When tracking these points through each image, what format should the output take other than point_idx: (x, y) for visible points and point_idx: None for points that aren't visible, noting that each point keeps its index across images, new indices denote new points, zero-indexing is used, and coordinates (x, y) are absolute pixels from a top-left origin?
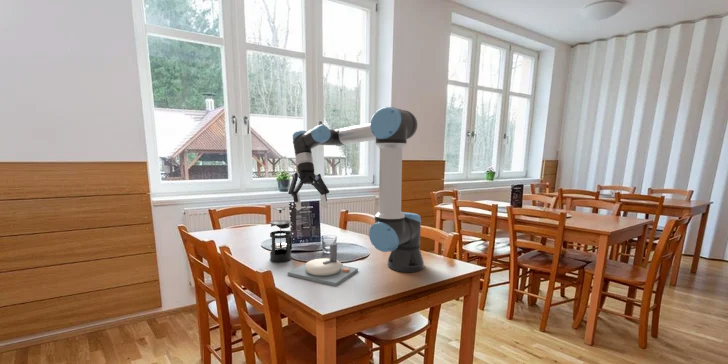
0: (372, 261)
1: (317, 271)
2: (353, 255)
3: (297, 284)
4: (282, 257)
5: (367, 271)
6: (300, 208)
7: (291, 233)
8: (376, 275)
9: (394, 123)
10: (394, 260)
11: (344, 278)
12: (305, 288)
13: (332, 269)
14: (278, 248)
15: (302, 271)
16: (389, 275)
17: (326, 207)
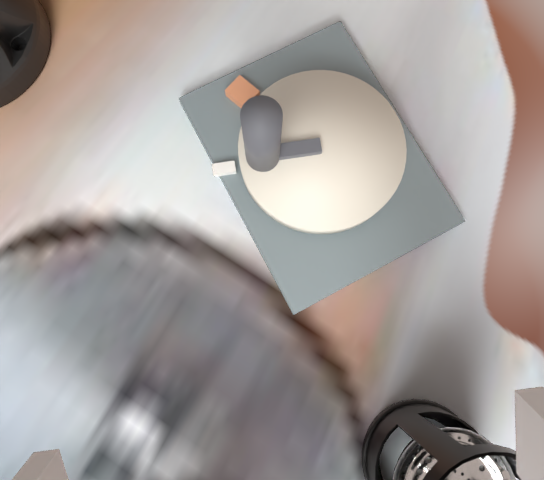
0: (44, 169)
1: (379, 96)
2: (59, 298)
3: (454, 117)
4: (437, 408)
5: (148, 82)
6: (539, 390)
7: None
8: (147, 31)
9: None
10: (20, 6)
11: (282, 51)
12: (441, 70)
13: (319, 70)
14: (482, 440)
15: (404, 194)
16: (105, 5)
17: (42, 457)
